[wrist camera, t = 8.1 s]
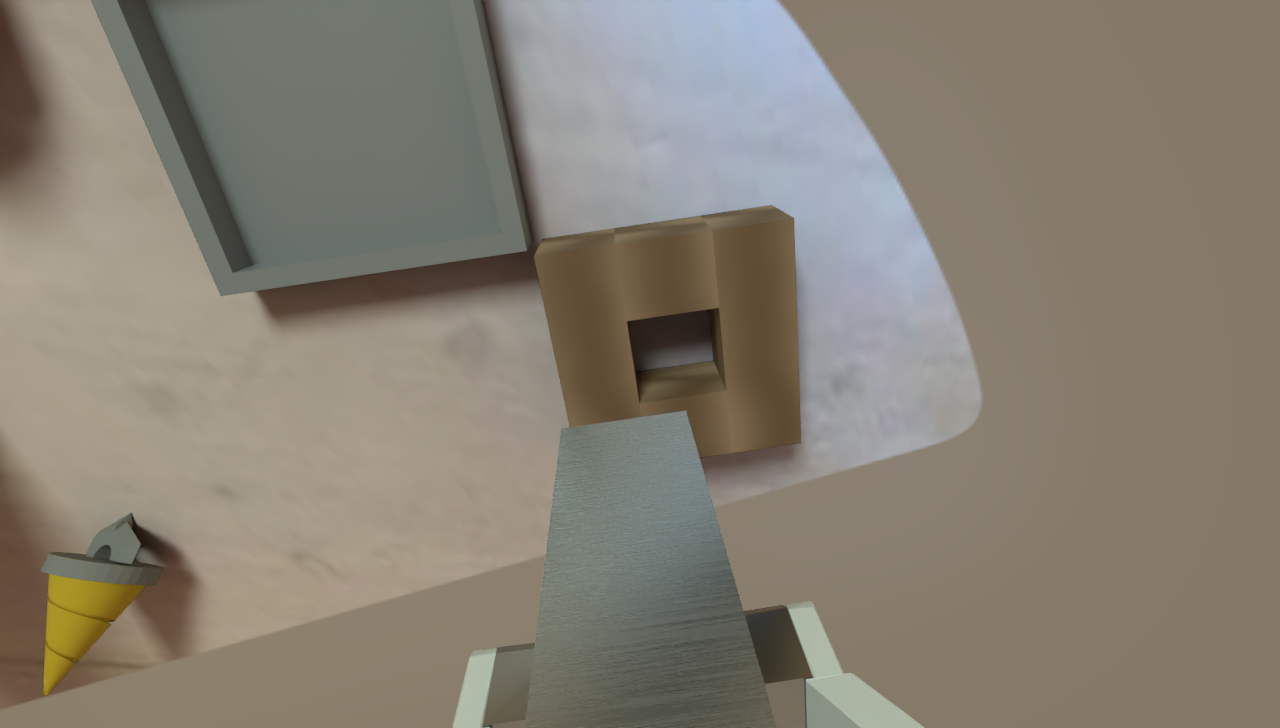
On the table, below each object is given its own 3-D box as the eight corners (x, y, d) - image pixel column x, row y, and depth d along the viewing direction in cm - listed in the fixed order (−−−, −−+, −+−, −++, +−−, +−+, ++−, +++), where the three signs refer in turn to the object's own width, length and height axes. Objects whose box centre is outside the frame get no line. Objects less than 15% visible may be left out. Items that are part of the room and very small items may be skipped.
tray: (249, 282, 31) (220, 295, 28) (107, -61, 25) (56, -79, 22) (533, 240, 31) (527, 250, 28) (458, -115, 25) (443, -138, 22)
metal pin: (582, 529, 18) (559, 1080, 8) (561, 428, 16) (498, 940, 6) (697, 512, 18) (825, 1039, 8) (685, 410, 16) (824, 892, 6)
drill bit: (201, 525, 37) (125, 703, 33) (152, 515, 39) (76, 682, 36) (105, 508, 33) (5, 712, 29) (56, 499, 35) (-43, 687, 31)
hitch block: (582, 437, 35) (580, 474, 32) (542, 239, 31) (533, 256, 27) (780, 408, 35) (801, 443, 32) (771, 205, 30) (793, 218, 27)
